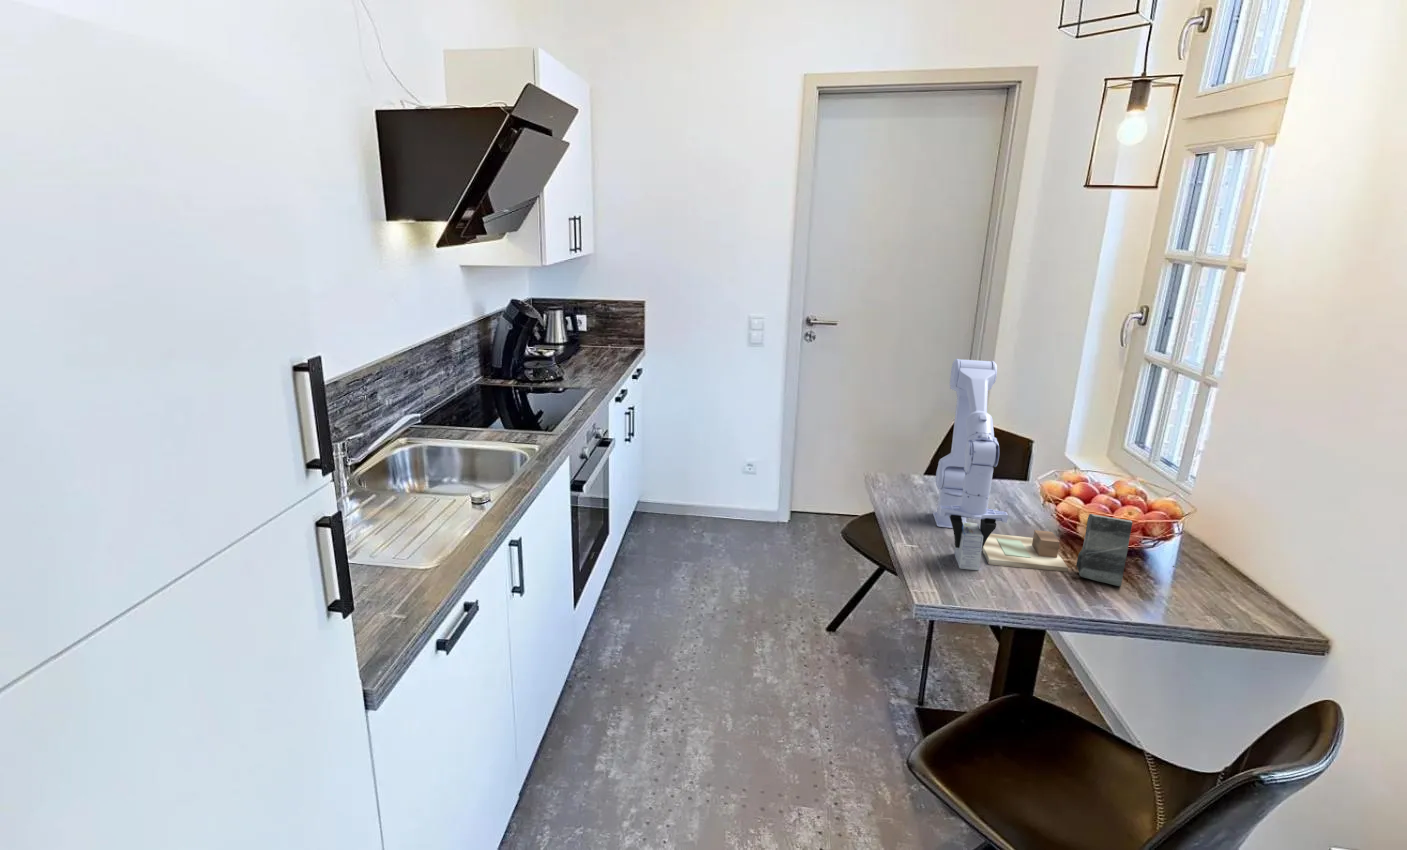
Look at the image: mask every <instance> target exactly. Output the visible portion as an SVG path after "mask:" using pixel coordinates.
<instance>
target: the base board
mask: <svg viewBox="0 0 1407 850" xmlns="http://www.w3.org/2000/svg"><path fill="white" fill-rule="evenodd" d="M1032 542H1033V537H1028V536H1020V535H1019V536H1018V535H1009V534H998V533H991V534H990V535H989V537H988V538H987V540H986V542H985V544H984V546H983V549H982V551H981V552H982V553H983V556H984V558H985V559H986V562H987V563H988V565H991V566H1002V567H1003V566H1004V567H1012V568H1024V569H1032V570H1033V569H1035V570H1044V571H1055V572H1056V571H1057V572H1065V573H1066V572H1067V573H1068V571H1069V567H1068V565H1067V564H1066V562H1064V559H1063V558H1062V557H1061V556H1060V554H1059V553H1058V555H1057V558H1054V557H1045V556H1038V554H1037V552H1036V551H1035V549H1034V548H1033V546H1032Z"/></svg>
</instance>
